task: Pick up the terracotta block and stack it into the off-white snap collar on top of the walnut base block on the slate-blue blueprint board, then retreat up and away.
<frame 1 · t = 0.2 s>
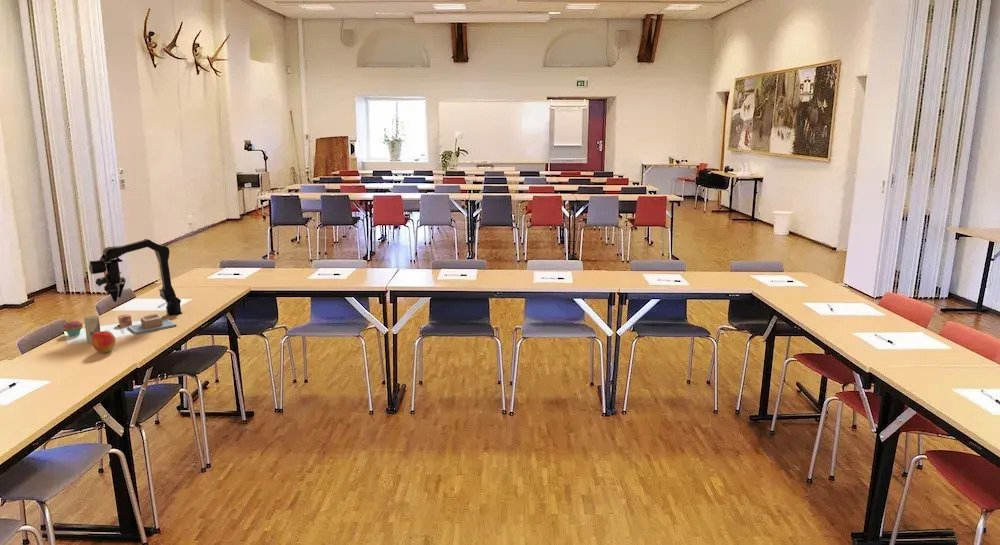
hand: (117, 299, 352), 14 cm above the table, tool pointing down, fingers open, 9 cm apart
cupcake: (74, 335, 337), on the table
apple: (105, 352, 312), on the table
box: (94, 342, 326), on the table
terracotta block: (125, 324, 354), on the table
blueprint board: (152, 327, 349), on the table
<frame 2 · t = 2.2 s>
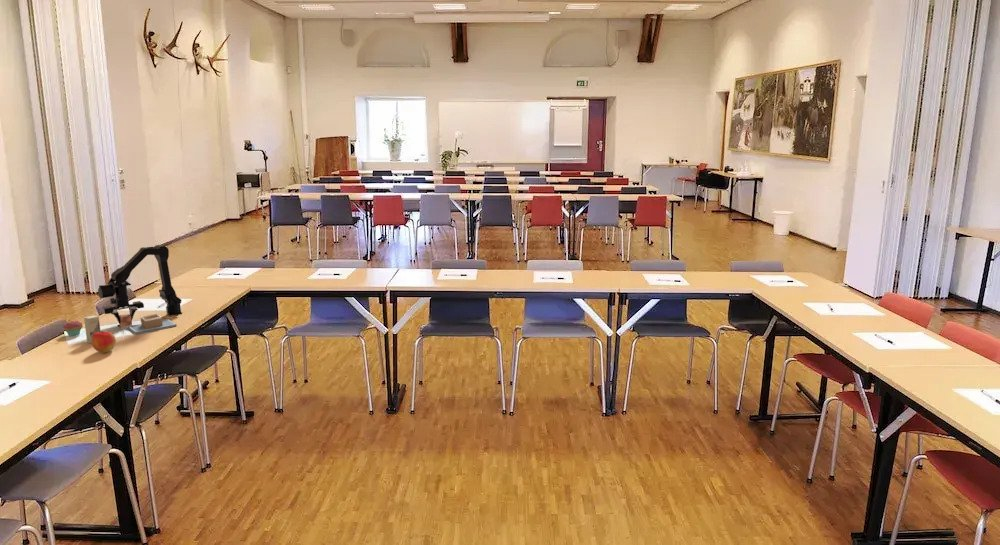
hand: (125, 322, 354), 1 cm above the table, tool pointing down, fingers closed on terracotta block, 5 cm apart
terracotta block: (125, 324, 354), on the table, touching gripper
everything else where it was.
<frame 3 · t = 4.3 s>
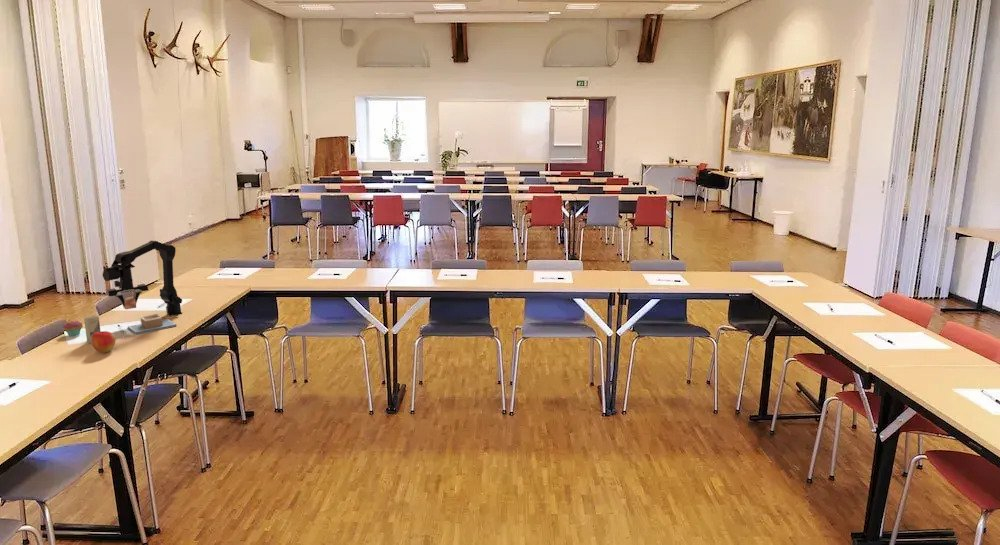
hand: (129, 305, 351), 11 cm above the table, tool pointing down, fingers closed on terracotta block, 5 cm apart
terracotta block: (129, 307, 351), point 10 cm above the table, touching gripper
everything else where it was.
when the fingers open (8 cm above the table, at t = 6.3 s): terracotta block drops 2 cm, resting on blueprint board.
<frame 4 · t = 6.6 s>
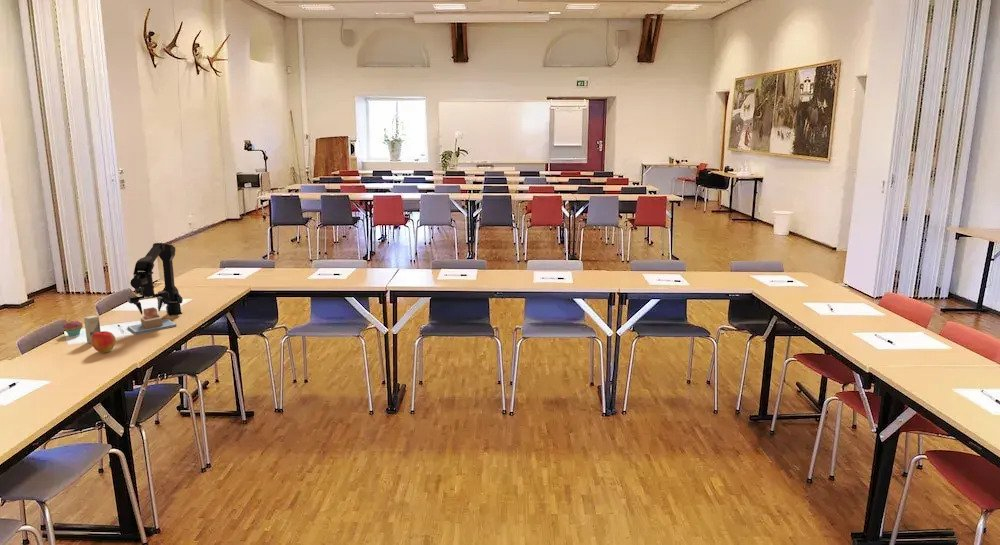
hand: (150, 312, 348), 8 cm above the table, tool pointing down, fingers open, 8 cm apart
terracotta block: (151, 318, 348), point 5 cm above the table, touching blueprint board
everything else where it was.
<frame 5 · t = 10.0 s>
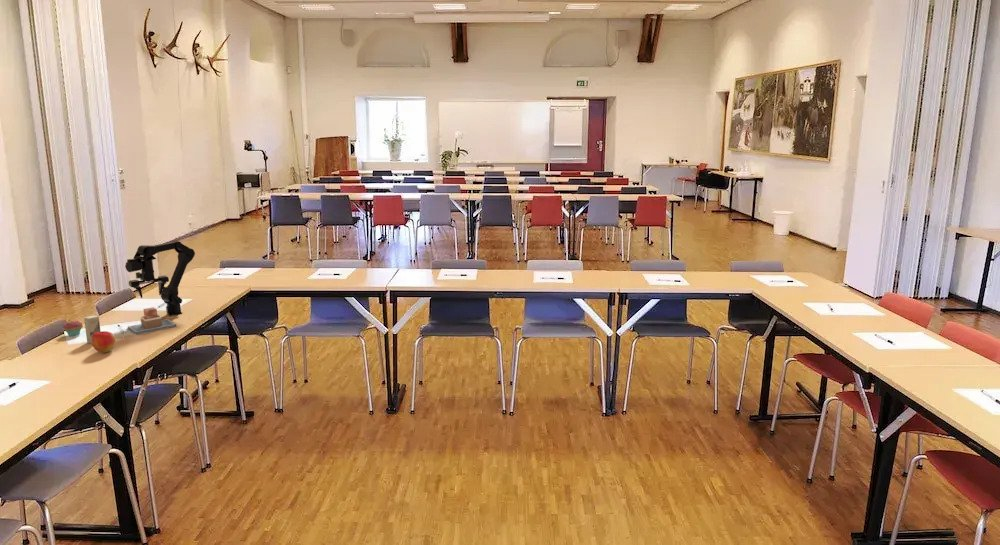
hand: (150, 296, 360), 13 cm above the table, tool pointing down, fingers open, 9 cm apart
nothing on the table moved.
at the end: terracotta block 0.0 cm from the target spot, point 5.0 cm above the table; terracotta block tilted 0°; the gripper is holding nothing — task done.
